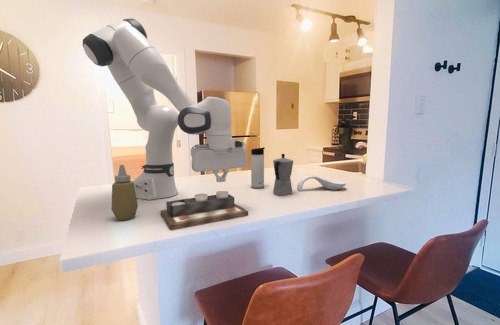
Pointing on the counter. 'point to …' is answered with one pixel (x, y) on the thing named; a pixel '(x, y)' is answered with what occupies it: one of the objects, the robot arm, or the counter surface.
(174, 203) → the button left
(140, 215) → the counter surface
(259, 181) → the travel mug
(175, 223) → the button board
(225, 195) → the button right
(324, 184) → the spoon rest
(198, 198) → the button middle
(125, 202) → the squeeze bottle
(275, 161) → the coffeepot
